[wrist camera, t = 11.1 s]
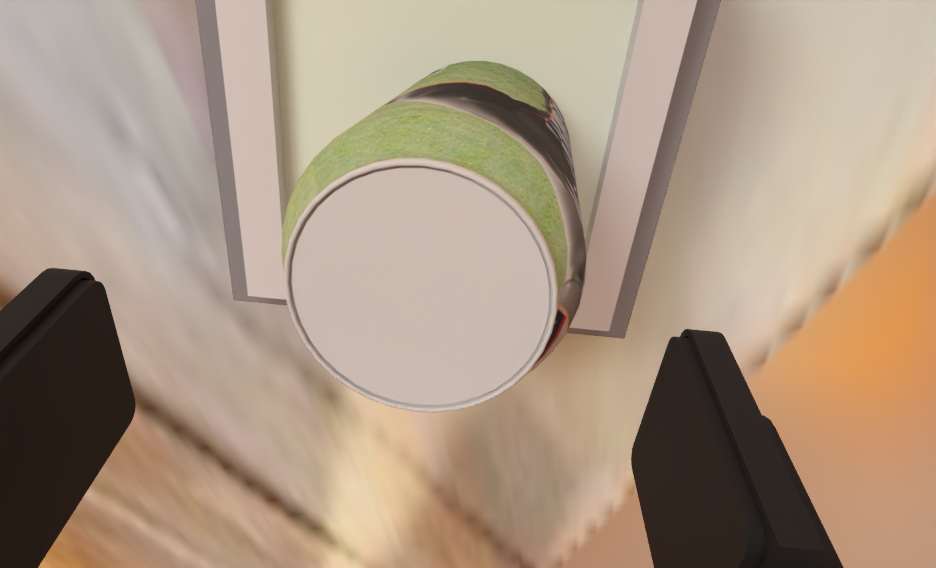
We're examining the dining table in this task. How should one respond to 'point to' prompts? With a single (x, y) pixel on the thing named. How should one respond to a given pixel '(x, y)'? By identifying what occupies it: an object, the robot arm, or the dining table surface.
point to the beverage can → (439, 241)
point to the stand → (419, 54)
